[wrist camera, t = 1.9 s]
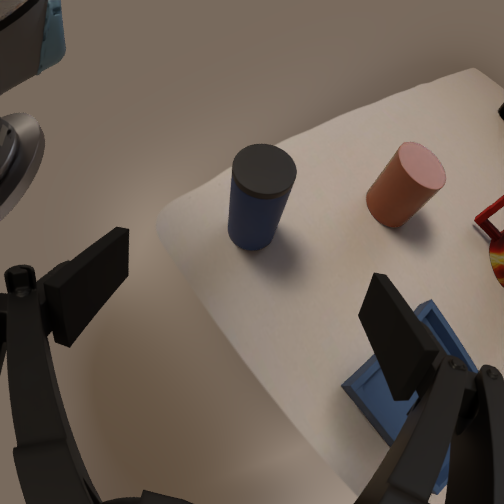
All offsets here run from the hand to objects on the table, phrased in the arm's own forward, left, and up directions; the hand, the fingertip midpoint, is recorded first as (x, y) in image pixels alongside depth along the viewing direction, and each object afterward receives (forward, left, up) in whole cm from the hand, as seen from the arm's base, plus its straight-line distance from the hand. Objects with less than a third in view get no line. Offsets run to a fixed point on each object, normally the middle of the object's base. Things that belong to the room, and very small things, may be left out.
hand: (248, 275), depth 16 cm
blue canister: (0, +10, -15) cm, 18 cm away
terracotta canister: (+16, +18, -15) cm, 28 cm away
